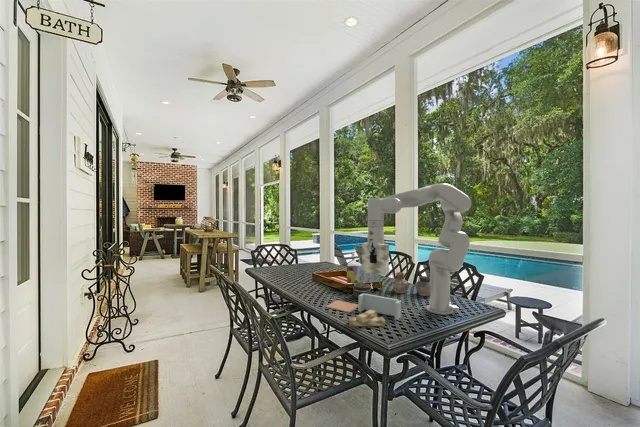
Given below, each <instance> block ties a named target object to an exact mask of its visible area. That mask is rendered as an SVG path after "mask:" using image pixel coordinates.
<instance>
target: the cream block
mask: <svg viewBox="0 0 640 427" xmlns="http://www.w3.org/2000/svg"><path fill="white" fill-rule="evenodd" d="M372 248H374V247H372ZM373 250H374V249H373ZM376 255H377V263H370V252H369V250H368V242H362V243H361V265H362V272H364V273H371V274H378V275H380V276H387V275H389V271H390V269H389V268H390V267H389V266H390V264H389V263H390V262H389V261H390V244H389V243H384V244H381V245H379V248H378V249H376Z"/></svg>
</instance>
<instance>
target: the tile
mask: <svg viewBox="0 0 640 427" xmlns="http://www.w3.org/2000/svg"><path fill="white" fill-rule="evenodd" d="M325 308H327V309H331V310H335V309H336V310H335V311H339V310H340V312H345V313H349V314H350V313H351V312H353V311H354V310H356V309H358V304H357V303H352V302H348V301H343V300H335V301H333V302H331V303H329V304H327V305H326V306H325Z"/></svg>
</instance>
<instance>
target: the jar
mask: <svg viewBox="0 0 640 427" xmlns="http://www.w3.org/2000/svg"><path fill="white" fill-rule="evenodd" d="M371 290H372V289H371V286H370V285H369V284H365V283H357V284H354V286H353V291H352V292H353V294H352V295H353V298H354V299H355V300H357V301H358V296H359V295H361V294H362V293H365V294H370V295H371Z"/></svg>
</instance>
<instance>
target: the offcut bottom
mask: <svg viewBox="0 0 640 427" xmlns="http://www.w3.org/2000/svg"><path fill="white" fill-rule="evenodd" d="M348 324H349V327H384V326H385V327H386V320H385V318H384V317H383V316H377V317H375V318H373V319H371V320H368V321H366V322H364V323H359V322H356V316H355V317H353V316H352V317H351V316H350V317H348Z"/></svg>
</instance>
